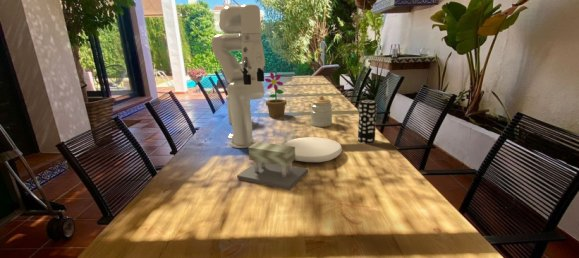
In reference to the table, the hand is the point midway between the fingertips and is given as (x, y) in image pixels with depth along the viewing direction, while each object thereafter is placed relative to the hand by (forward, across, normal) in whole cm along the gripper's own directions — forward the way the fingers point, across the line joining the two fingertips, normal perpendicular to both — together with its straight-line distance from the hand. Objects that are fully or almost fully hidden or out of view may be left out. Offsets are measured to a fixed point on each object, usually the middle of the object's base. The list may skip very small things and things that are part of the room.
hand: (254, 82), depth 123 cm
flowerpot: (+34, +72, +31) cm, 85 cm away
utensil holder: (+34, +49, +45) cm, 75 cm away
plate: (+34, +14, -19) cm, 41 cm away
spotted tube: (+34, +42, -37) cm, 65 cm away
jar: (+34, +63, -5) cm, 72 cm away
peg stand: (+33, -12, -14) cm, 38 cm away
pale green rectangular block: (+27, -12, -14) cm, 32 cm away
